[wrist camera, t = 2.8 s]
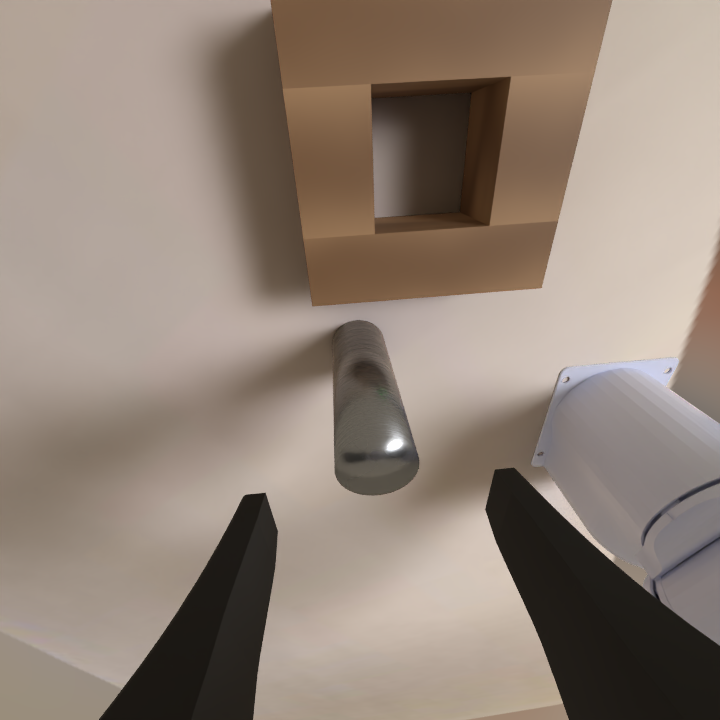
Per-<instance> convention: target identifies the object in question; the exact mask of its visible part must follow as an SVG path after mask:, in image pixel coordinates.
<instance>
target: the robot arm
mask: <svg viewBox="0 0 720 720" xmlns="http://www.w3.org/2000/svg"><path fill="white" fill-rule="evenodd" d="M678 362H679V360H678V359H677V358H676V357H671V358H659V359H648V360H637V361H626V362H615V363H604V364H592V365H581V366H570V367H566V368H564V369H563V370H562V371H561V372H560V374H559V377H558V380H557V384H556V387H555V390H554V393H553V396H552V399H551V402H550V405H549V408H548V411H547V415H546V418H545V421H544V424H543V427H542V430H541V433H540V436H539V439H538V443H537V446H536V449H535V452H534V455H533V458H532V461H531V465H532V466H533V467H541V466H544V467H545V469H546V470H547V472H548V473H549V475H550V476H551V478H552V479H553V480H554V482H555V483H556V485H557V486H558V488H559V489H560V491H561V492H562V494H563V495H564V497H565V498H566V499H567V501H568V502H569V504H570V505H571V507H572V508H573V510H574V511H575V513H576V514H577V516H578V517H579V519H580V520H581V521H582V523H583V524H584V526H585V527H586V529H587V530H588V531H589V533H590V534H591V535H592V536H593V538H594V539H595V540H596V541H597V542H598V543H599V544H601V545H602V546H603V547H604V548H605V549H607V550H608V551H609V552H611V553H612V554H613V555H615V556H616V557H618V558H620V559H621V560H623V561H625V562H627V563H629V564H631V565H634V566H637V567H640V568H644V570H645V571H646V572H647V574H648V575H647V576H646V578H645V579H644V582H643V587H642V586H640V585H639V584H638V583H637V582H635V581H634V580H633V579H632V578H631V577H629V576H628V575H627V574H626V573H625V572H624V571H622V570H621V569H620V568H619V567H617V566H616V565H615V564H614V563H613V562H612V561H611V560H610V559H609V558H607V557H606V556H605V555H604V554H603V553H602V552H601V551H599V550H598V549H597V548H596V547H595V546H594V545H593V544H592V543H591V542H589V541H588V540H587V539H586V538H585V537H584V536H583V535H582V534H581V533H580V532H579V531H578V530H577V529H576V528H575V527H573V526H572V525H571V524H570V523H569V522H568V521H567V520H566V519H565V518H564V517H563V516H562V515H561V514H560V513H559V512H558V511H557V510H556V509H555V508H554V507H553V506H552V505H551V504H550V503H549V502H548V501H547V500H546V499H545V498H544V497H543V496H542V495H541V494H540V493H539V492H538V491H537V490H536V489H535V488H534V487H533V486H532V485H531V484H530V483H529V482H528V481H527V480H526V479H525V478H524V477H523V476H522V475H521V474H520V473H519V472H518V471H517V470H516V469H515V468H506V469H496V470H495V472H494V476H493V480H492V484H491V488H490V492H489V496H488V500H487V505H486V509H485V510H486V513H487V516H488V519H489V522H490V525H491V528H492V531H493V534H494V537H495V540H496V543H497V545H498V547H499V550H500V552H501V554H502V556H503V558H504V561H505V563H506V565H507V567H508V569H509V572H510V574H511V576H512V578H513V580H514V582H515V585H516V587H517V589H518V591H519V593H520V596H521V598H522V600H523V602H524V604H525V606H526V609H527V611H528V613H529V615H530V617H531V619H532V622H533V624H534V626H535V629H536V631H537V633H538V636H539V638H540V641H541V643H542V646H543V648H544V651H545V654H546V657H547V659H548V662H549V665H550V668H551V670H552V673H553V676H554V678H555V681H556V684H557V687H558V690H559V692H560V695H561V698H562V701H563V704H564V707H565V710H566V713H567V715H568V718H569V720H720V424H719V423H717V422H716V421H715V420H713V419H712V418H710V417H709V416H707V415H706V414H705V413H703V412H702V411H700V410H699V409H697V408H696V407H695V406H693V405H692V404H690V403H689V402H687V401H686V400H684V399H683V398H682V397H680V396H679V395H677V394H676V393H674V392H673V391H672V390H670V389H669V388H667V387H666V385H667V383H668V382H669V380H670V378H671V376H672V374H673V372H674V370H675V369H676V367H677V365H678ZM667 368H671V370H670V371H669V372H667V373H664V371H665V370H666V369H667ZM565 377H569V380H568V381H567V382H562V380H563V379H564V378H565ZM540 452H544V453H543V454H542V455H540V456H539V455H538V453H540ZM277 534H278V531H277V528H276V524H275V521H274V518H273V515H272V512H271V509H270V506H269V502H268V499H267V496H266V493H259V494H249V495H245V496H244V497H243V498H242V500H241V502H240V504H239V506H238V508H237V510H236V512H235V514H234V516H233V518H232V520H231V522H230V524H229V526H228V528H227V530H226V531H225V533H224V535H223V537H222V539H221V541H220V542H219V544H218V546H217V548H216V549H215V551H214V553H213V555H212V556H211V558H210V560H209V561H208V563H207V565H206V567H205V568H204V570H203V572H202V574H201V575H200V577H199V578H198V580H197V582H196V583H195V585H194V586H193V588H192V590H191V591H190V593H189V594H188V596H187V598H186V599H185V601H184V602H183V604H182V605H181V607H180V609H179V610H178V612H177V613H176V615H175V616H174V618H173V619H172V621H171V622H170V624H169V625H168V627H167V628H166V630H165V631H164V633H163V634H162V635H161V637H160V638H159V640H158V641H157V643H156V644H155V645H154V647H153V648H152V650H151V651H150V653H149V654H148V655H147V657H146V658H145V660H144V661H143V662H142V664H141V665H140V666H139V668H138V669H137V670H136V672H135V673H134V674H133V676H132V677H131V678H130V680H129V681H128V682H127V684H126V685H125V686H124V688H123V689H122V690H121V692H120V693H119V694H118V696H117V697H116V698H115V700H114V701H113V702H112V704H111V705H110V706H109V707H108V709H107V710H106V711H105V712H104V714H103V715H102V716H101V718H100V719H99V720H253V714H254V703H255V693H256V683H257V674H258V666H259V659H260V653H261V647H262V641H263V635H264V630H265V624H266V618H267V612H268V607H269V601H270V595H271V589H272V583H273V577H274V571H275V563H276V550H277Z"/></svg>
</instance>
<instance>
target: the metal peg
mask: <svg viewBox="0 0 720 720" xmlns="http://www.w3.org/2000/svg"><path fill="white" fill-rule="evenodd" d="M332 353H333V405H334V458H335V475H336V478H337V480H338V481H339V483H340V484H341V485H342V486H343V487H345V488H346V489H348V490H349V491H352V492H354V493H357V494H362V495H383V494H387V493H391V492H394V491H396V490H398V489H400V488H402V487H404V486H405V485H407V484H408V483H409V482H410V481H411V480H412V479H413V478H414V477H415V475H416V473H417V472H418V469H419V457H418V454H417V450H416V447H415V444H414V440H413V437H412V433H411V430H410V427H409V423H408V420H407V416H406V413H405V410H404V406H403V403H402V399H401V396H400V392H399V389H398V386H397V382H396V379H395V375H394V372H393V369H392V365H391V362H390V358H389V355H388V352H387V348H386V345H385V341H384V338H383V335H382V333H381V331H380V330H379V328H378V327H376V326H375V325H374V324H372V323H370V322H367V321H361V320H357V321H351V322H348V323H346V324H344V325H343V326H341V327H340V328H339V329H338V330H337V331H336V333H335V335H334V337H333V342H332Z"/></svg>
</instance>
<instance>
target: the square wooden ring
mask: <svg viewBox="0 0 720 720" xmlns="http://www.w3.org/2000/svg"><path fill="white" fill-rule="evenodd" d="M611 4H612V0H271V7H272V15H273V22H274V29H275V37H276V44H277V51H278V58H279V66H280V73H281V80H282V88H283V95H284V102H285V110H286V117H287V124H288V131H289V139H290V146H291V153H292V161H293V168H294V175H295V182H296V190H297V197H298V204H299V212H300V219H301V226H302V234H303V241H304V248H305V255H306V263H307V270H308V277H309V285H310V292H311V299H312V306H323V305H336V304H348V303H361V302H373V301H386V300H398V299H411V298H423V297H436V296H448V295H461V294H473V293H486V292H498V291H511V290H523V289H536V288H542V284H543V280H544V276H545V272H546V268H547V264H548V259H549V255H550V251H551V247H552V243H553V239H554V235H555V231H556V227H557V223H558V219H559V215H560V211H561V207H562V203H563V199H564V195H565V190H566V186H567V182H568V178H569V174H570V170H571V166H572V162H573V158H574V154H575V150H576V146H577V142H578V138H579V134H580V130H581V125H582V121H583V117H584V113H585V109H586V105H587V101H588V97H589V93H590V89H591V85H592V81H593V77H594V73H595V69H596V65H597V61H598V56H599V52H600V48H601V44H602V40H603V36H604V32H605V28H606V24H607V20H608V16H609V12H610V8H611ZM458 93H471V103H470V113H469V123H468V133H467V144H466V154H465V164H464V174H463V184H462V194H461V205H460V212H454V213H440V214H426V215H411V216H397V217H383V218H374V183H373V146H372V109H371V98H386V97H404V96H422V95H440V94H458Z"/></svg>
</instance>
